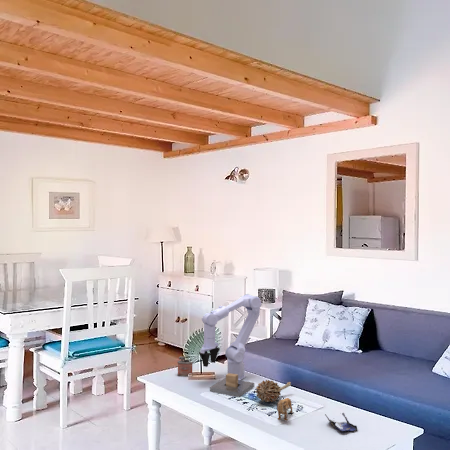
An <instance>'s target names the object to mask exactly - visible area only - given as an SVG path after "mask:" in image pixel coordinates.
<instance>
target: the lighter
mask: <svg viewBox="0 0 450 450" xmlns="http://www.w3.org/2000/svg"><path fill="white" fill-rule="evenodd" d="M184 357H185V356H179V357H178V360H177V377H183V378H187V377H188V374H189V373H192V374H193V363H194V361H193V362H189V360H185V358H184ZM188 378H189V377H188Z"/></svg>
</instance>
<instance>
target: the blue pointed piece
mask: <svg viewBox="0 0 450 450" xmlns="http://www.w3.org/2000/svg"><path fill="white" fill-rule="evenodd" d="M340 414H341V415H342V416H343V417H344V419H345V421H341V422H338V421H335V420H333V419H330V418H329V417H328V416H327V414H325V413H324V416H326V418H327V420H328V422H329V423H330V424H331V425H332V426H333V428H335V429H336V430H338V431H339V432H340V433H343V432H348V433H354V432H356V431H358V426H357V425H355V424H352V423H351V422H350V421H349V420H348V418H347V416H346V415H345V412H342V413H341V412H340ZM336 424H337V425H338V426H339V427H338V426H337V425H336Z"/></svg>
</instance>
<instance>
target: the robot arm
mask: <svg viewBox="0 0 450 450" xmlns="http://www.w3.org/2000/svg"><path fill="white" fill-rule="evenodd" d="M262 304H263V303H262V301H261V298H260V297H259V296H257V295H256V296H255V295H251V294H249V293H247V294H246V293H245V294H244V295H241V296H240V297H239V298H238V299H235V300H234V301H232V302H231V303H229V304H228V305H226V306H224V305H218V308H216V309H214V310H211V311H210V312H206V313H204V314H203V316H202V318H201V321H202V323H203V344H202V345H201V347H202V348H200V349H199V350H200V351H199V353H198V354H199V356H200V358H201V362H202V366H203V367H204V368H207V367H208V366H209V359H210V362H211V364H212V363H213V364H214V363H216V361H217V357H218V354H219V352H220V350H221V349H220V347H219V342H216V325H217V324H218V322H219V321H222V320H223V319H225V318H226V317H228V316H229V314H230V313H231V312H233V311H235V310H237V309H239V308H241V307H244V308H245V310H246V311H247V315H246V318H245V320H244V322H243V325H241V328H240V330H239V332H238V334H237V335H236V338H235V340H234V341H233V342H231V343H230V345H229V346H228V347H227V348H226V350H225V353H224V354H225V357H226V358H227V374H228V373H231V374H237V375H238V380H241V381H243V379H245V378H246V377H247V376H246V375H245V362H244V361H243V360H244V358H245V353H246V344H247V342H248V340H249V338H250V335H251V334H252V331H253V329H254V328H255V326H256V323H257V321H258V319H259V318H260V312H261V307H262Z"/></svg>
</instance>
